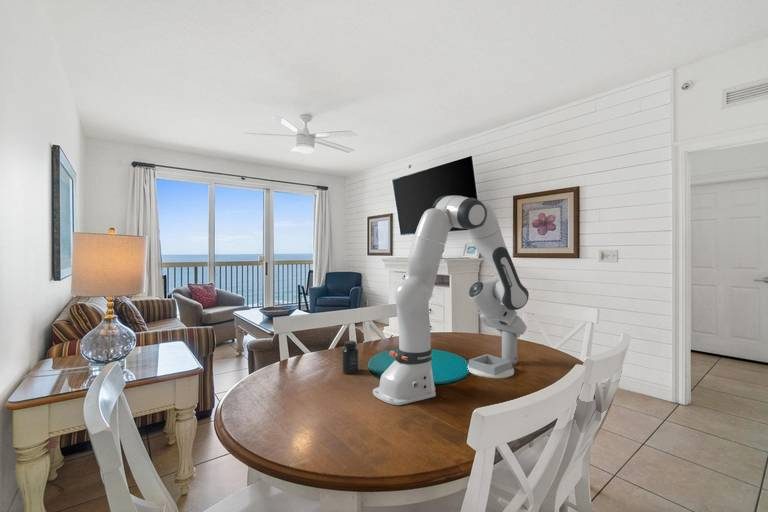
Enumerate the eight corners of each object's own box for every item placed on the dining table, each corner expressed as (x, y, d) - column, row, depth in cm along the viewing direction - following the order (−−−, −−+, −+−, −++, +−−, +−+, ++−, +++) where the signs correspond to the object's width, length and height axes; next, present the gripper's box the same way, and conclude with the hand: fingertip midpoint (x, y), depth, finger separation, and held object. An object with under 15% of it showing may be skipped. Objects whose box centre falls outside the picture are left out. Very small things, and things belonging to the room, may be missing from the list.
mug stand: (496, 382, 131) (496, 371, 131) (458, 369, 145) (458, 359, 145) (523, 371, 142) (523, 361, 142) (484, 360, 156) (484, 351, 156)
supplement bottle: (360, 369, 146) (360, 339, 146) (357, 374, 140) (357, 344, 139) (343, 368, 147) (343, 339, 147) (340, 374, 140) (339, 344, 140)
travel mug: (520, 365, 149) (520, 317, 148) (504, 365, 149) (504, 317, 149) (515, 360, 155) (515, 315, 155) (499, 360, 155) (499, 315, 155)
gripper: (472, 315, 155) (488, 334, 160) (511, 323, 137) (527, 345, 143) (479, 304, 157) (495, 323, 162) (519, 311, 139) (534, 332, 145)
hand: (510, 333), depth 152 cm, fingers closed on travel mug, 6 cm apart
